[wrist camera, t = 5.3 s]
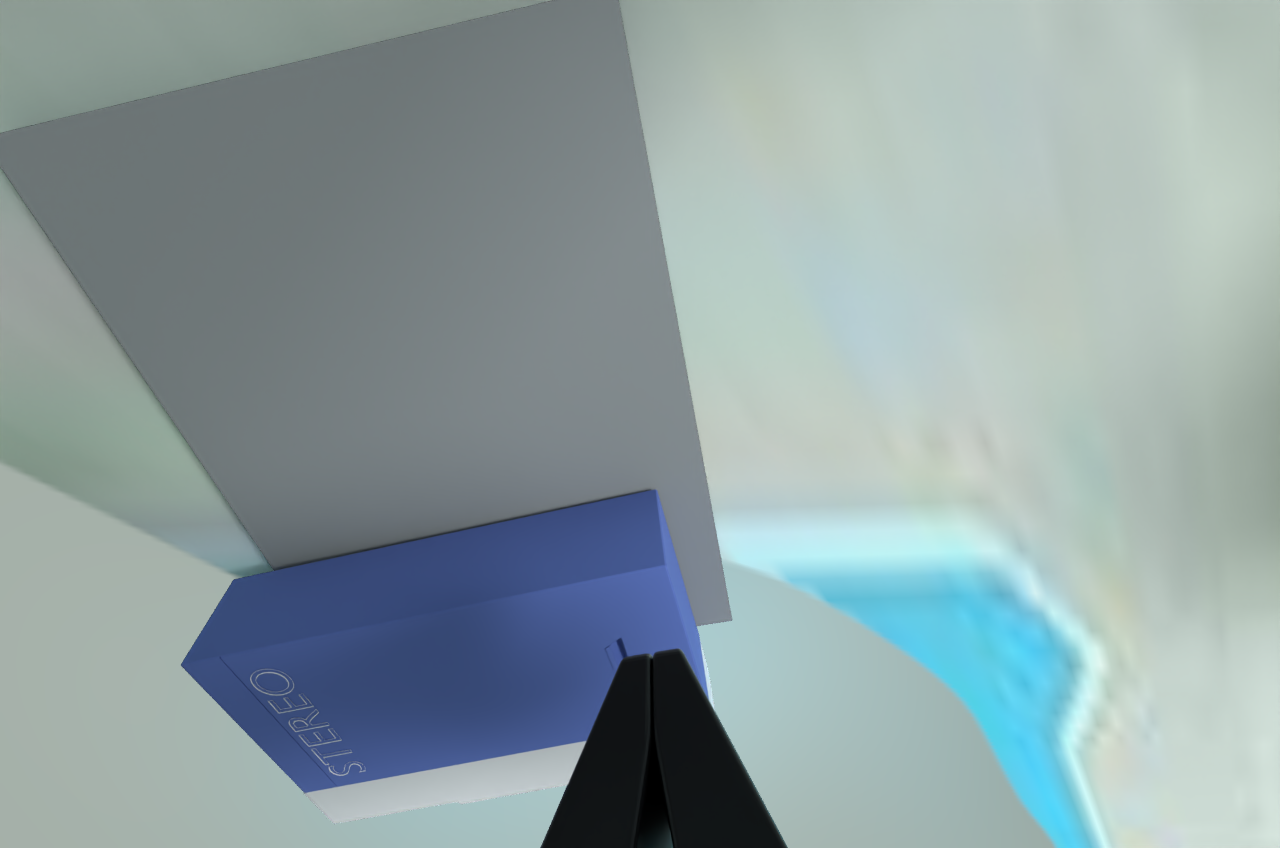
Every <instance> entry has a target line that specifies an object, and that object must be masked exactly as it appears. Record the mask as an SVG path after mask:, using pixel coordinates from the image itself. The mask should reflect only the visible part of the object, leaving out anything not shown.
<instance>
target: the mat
mask: <svg viewBox="0 0 1280 848" xmlns="http://www.w3.org/2000/svg"><path fill="white" fill-rule="evenodd" d="M0 167H1V168H2V170H3V171H4V173H5V174H6V176H7V177H8V179H9V180H10V182H11V183H12V185H13V186H14V188H15V189H16V191H17V192H18V194H19V195H20V197H21V198H22V199H23V201H24V202H25V204H26V205H27V207H28V208H29V210H30V211H31V213H32V214H33V216H34V217H35V219H36V220H37V222H38V223H39V225H40V226H41V228H42V229H43V230H44V232H45V233H46V235H47V236H48V238H49V239H50V241H51V242H52V244H53V245H54V247H55V248H56V250H57V251H58V253H59V254H60V256H61V257H62V259H63V260H64V261H65V263H66V264H67V266H68V267H69V269H70V270H71V272H72V273H73V275H74V276H75V278H76V279H77V281H78V282H79V284H80V285H81V287H82V288H83V289H84V291H85V292H86V294H87V295H88V297H89V298H90V300H91V301H92V303H93V304H94V306H95V307H96V309H97V310H98V312H99V313H100V315H101V316H102V318H103V319H104V320H105V322H106V323H107V325H108V326H109V328H110V329H111V331H112V332H113V334H114V335H115V337H116V338H117V340H118V341H119V343H120V344H121V346H122V347H123V349H124V350H125V351H126V353H127V354H128V356H129V357H130V359H131V360H132V362H133V363H134V365H135V366H136V368H137V369H138V371H139V372H140V374H141V375H142V377H143V378H144V379H145V381H146V382H147V384H148V385H149V387H150V388H151V390H152V391H153V393H154V394H155V396H156V397H157V399H158V400H159V402H160V403H161V405H162V406H163V408H164V409H165V410H166V412H167V413H168V415H169V416H170V418H171V419H172V421H173V422H174V424H175V425H176V427H177V428H178V430H179V431H180V433H181V434H182V436H183V437H184V439H185V440H186V441H187V443H188V444H189V446H190V447H191V449H192V450H193V452H194V453H195V455H196V456H197V458H198V459H199V461H200V462H201V464H202V465H203V467H204V468H205V470H206V471H207V472H208V474H209V475H210V477H211V478H212V480H213V481H214V483H215V484H216V486H217V487H218V489H219V490H220V492H221V493H222V495H223V496H224V498H225V499H226V500H227V502H228V503H229V505H230V506H231V508H232V509H233V511H234V512H235V514H236V515H237V517H238V518H239V520H240V521H241V523H242V524H243V526H244V527H245V529H246V530H247V531H248V533H249V534H250V536H251V537H252V539H253V540H254V542H255V543H256V545H257V546H258V548H259V549H260V551H261V552H262V554H263V555H264V557H265V558H266V560H267V561H268V562H269V564H270V565H271V567H272V568H273V570H274V571H276V570H281V569H285V568H290V567H295V566H299V565H304V564H309V563H313V562H318V561H323V560H327V559H332V558H337V557H341V556H346V555H351V554H355V553H360V552H365V551H369V550H374V549H379V548H383V547H388V546H393V545H397V544H402V543H407V542H411V541H416V540H421V539H425V538H430V537H435V536H439V535H444V534H449V533H453V532H458V531H463V530H468V529H472V528H477V527H482V526H486V525H491V524H496V523H500V522H505V521H510V520H514V519H519V518H524V517H528V516H533V515H538V514H542V513H547V512H552V511H556V510H561V509H566V508H570V507H575V506H580V505H584V504H589V503H594V502H598V501H603V500H608V499H612V498H617V497H622V496H626V495H631V494H636V493H640V492H645V491H650V490H654V489H656V490H657V491H658V495H659V498H660V502H661V505H662V509H663V512H664V515H665V519H666V522H667V526H668V529H669V533H670V536H671V540H672V543H673V547H674V550H675V554H676V557H677V561H678V564H679V568H680V571H681V574H682V578H683V581H684V585H685V588H686V592H687V595H688V599H689V602H690V606H691V609H692V613H693V616H694V620H695V623H696V626H701V625H707V624H713V623H720V622H726V621H732V616H731V611H730V605H729V600H728V595H727V590H726V583H725V578H724V572H723V567H722V561H721V556H720V550H719V545H718V540H717V534H716V529H715V523H714V518H713V512H712V507H711V501H710V496H709V490H708V485H707V480H706V474H705V469H704V463H703V458H702V452H701V447H700V441H699V436H698V430H697V425H696V420H695V414H694V409H693V403H692V398H691V392H690V387H689V381H688V376H687V370H686V365H685V360H684V354H683V349H682V343H681V338H680V332H679V327H678V321H677V316H676V310H675V305H674V300H673V294H672V289H671V283H670V278H669V272H668V267H667V261H666V256H665V250H664V245H663V240H662V234H661V229H660V223H659V218H658V212H657V207H656V201H655V196H654V190H653V185H652V180H651V174H650V169H649V163H648V158H647V152H646V147H645V141H644V136H643V130H642V125H641V120H640V114H639V109H638V103H637V98H636V92H635V87H634V81H633V76H632V70H631V65H630V60H629V54H628V49H627V43H626V38H625V32H624V27H623V21H622V16H621V10H620V5H619V0H552V1H548V2H544V3H540V4H535V5H531V6H527V7H523V8H519V9H515V10H510V11H506V12H502V13H498V14H494V15H490V16H485V17H481V18H477V19H473V20H469V21H465V22H460V23H456V24H452V25H448V26H444V27H440V28H435V29H431V30H427V31H423V32H419V33H415V34H410V35H406V36H402V37H398V38H394V39H390V40H385V41H381V42H377V43H373V44H369V45H365V46H360V47H356V48H352V49H348V50H344V51H340V52H335V53H331V54H327V55H323V56H319V57H315V58H311V59H306V60H302V61H298V62H294V63H290V64H286V65H281V66H277V67H273V68H269V69H265V70H261V71H256V72H252V73H248V74H244V75H240V76H236V77H231V78H227V79H223V80H219V81H215V82H211V83H206V84H202V85H198V86H194V87H190V88H186V89H181V90H177V91H173V92H169V93H165V94H161V95H156V96H152V97H148V98H144V99H140V100H136V101H131V102H127V103H123V104H119V105H115V106H111V107H106V108H102V109H98V110H94V111H90V112H86V113H81V114H77V115H73V116H69V117H65V118H61V119H56V120H52V121H48V122H44V123H40V124H36V125H31V126H27V127H23V128H19V129H15V130H11V131H6V132H2V133H0Z"/></svg>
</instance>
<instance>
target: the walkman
mask: <svg viewBox="0 0 1280 848" xmlns="http://www.w3.org/2000/svg"><path fill="white" fill-rule="evenodd" d="M676 648H679V649H681V650H682V651H683V652H684V654H685V656H686V658H687V660H688V662H689V664H690V665H691V667H692V669H693V671H694V673H695V675H696V677H697V679H698V680H699V682H700V684H701V686H702V688H703V690H704V692H705V694H706V695H707V697H708V699H709V701H710V703H711V705H712V707H713V709H714V710H715V707H714V701H713V695H712V689H711V683H710V676H709V671H708V667H707V664H706V660H705V656H704V653H703V649H702V646H701V642H700V638H699V633H698V630H697V626H696V623H695V620H694V616H693V613H692V609H691V606H690V602H689V599H688V595H687V592H686V588H685V585H684V581H683V578H682V574H681V571H680V568H679V564H678V561H677V557H676V554H675V550H674V547H673V543H672V540H671V536H670V533H669V529H668V526H667V522H666V519H665V515H664V512H663V509H662V505H661V502H660V498H659V495H658V491H657V490H656V489H654V490H650V491H645V492H640V493H636V494H631V495H626V496H622V497H617V498H612V499H608V500H603V501H598V502H594V503H589V504H584V505H580V506H575V507H570V508H566V509H561V510H556V511H552V512H547V513H542V514H538V515H533V516H528V517H524V518H519V519H514V520H510V521H505V522H500V523H496V524H491V525H486V526H482V527H477V528H472V529H468V530H463V531H458V532H453V533H449V534H444V535H439V536H435V537H430V538H425V539H421V540H416V541H411V542H407V543H402V544H397V545H393V546H388V547H383V548H379V549H374V550H369V551H365V552H360V553H355V554H351V555H346V556H341V557H337V558H332V559H327V560H323V561H318V562H313V563H309V564H304V565H299V566H295V567H290V568H285V569H281V570H276V571H271V572H266V573H262V574H257V575H252V576H248V577H243V578H238V579H234V580H233V581H232V583H231V585H230V586H229V588H228V589H227V591H226V593H225V594H224V596H223V597H222V599H221V601H220V602H219V604H218V606H217V607H216V609H215V611H214V612H213V614H212V615H211V617H210V618H209V620H208V622H207V623H206V625H205V627H204V628H203V630H202V631H201V633H200V635H199V636H198V638H197V639H196V641H195V643H194V644H193V646H192V648H191V649H190V651H189V652H188V654H187V656H186V657H185V659H184V660H183V662H182V664H181V666H182V667H183V668H184V669H185V670H186V671H187V672H188V673H189V674H190V675H191V676H192V677H193V678H194V679H195V680H196V682H198V684H199V685H200V686H201V687H203V689H204V690H205V691H206V692H207V693H208V694H209V695H210V696H211V697H212V698H213V699H214V700H215V701H216V702H217V703H218V704H219V705H220V706H221V707H222V708H223V709H224V710H225V711H226V712H227V713H228V714H229V716H231V718H232V719H233V720H234V721H235V722H236V723H237V724H238V725H239V726H240V727H241V728H242V729H243V730H244V731H245V732H246V733H247V734H248V735H249V736H250V737H251V738H252V739H253V740H254V741H255V742H256V743H257V744H258V745H259V746H260V747H261V748H262V749H263V751H264V752H265V753H266V754H267V755H268V756H269V757H270V758H271V759H272V760H273V761H274V762H275V763H276V764H277V765H278V766H279V767H280V768H281V769H282V770H283V771H284V772H285V773H286V774H287V775H288V776H289V777H290V778H291V779H292V780H293V781H294V782H295V783H296V784H297V786H298V787H299V788H301V790H302V791H303V792H304V794H305V795H306V796H307V797H308V798H309V799H310V800H311V801H312V802H313V803H314V804H315V805H316V806H317V807H318V808H319V809H320V810H321V811H322V812H323V813H324V815H325V816H327V818H328V819H329V820H330V821H331V822H332V823H333V824H337V823H343V822H348V821H354V820H359V819H365V818H370V817H376V816H381V815H387V814H393V813H398V812H404V811H409V810H414V809H420V808H426V807H431V806H437V805H442V804H448V803H453V802H458V803H460V804H465V803H471V802H476V801H482V800H487V799H493V798H498V797H504V796H509V795H515V794H520V793H526V792H531V791H537V790H543V789H548V788H553V787H559V786H565V785H568V783H569V780H570V778H571V776H572V773H573V771H574V769H575V766H576V764H577V762H578V759H579V757H580V755H581V752H582V750H583V748H584V745H585V743H586V741H587V738H588V736H589V734H590V731H591V729H592V727H593V724H594V722H595V720H596V718H597V715H598V713H599V711H600V708H601V706H602V704H603V701H604V699H605V697H606V694H607V692H608V690H609V687H610V685H611V683H612V680H613V678H614V676H615V673H616V671H617V669H618V666H619V664H620V662H621V661H622V659H623V658H625V657H627V656H633V655H639V654H645V653H648V654H651V655H652V657H653V654H654V653H655V652H657V651H663V650H670V649H676Z"/></svg>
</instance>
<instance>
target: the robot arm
mask: <svg viewBox="0 0 1280 848" xmlns="http://www.w3.org/2000/svg"><path fill="white" fill-rule="evenodd" d="M541 848H788V847H787V845H786V844H785V842H784V840H783V838H782V836H781V834H780V832H779V830H778V829H777V827H776V825H775V823H774V821H773V819H772V817H771V815H770V813H769V812H768V810H767V808H766V806H765V804H764V802H763V801H762V798H761V797H760V795H759V793H758V791H757V789H756V787H755V785H754V783H753V782H752V780H751V778H750V776H749V774H748V773H747V770H746V769H745V767H744V765H743V763H742V761H741V759H740V757H739V755H738V754H737V752H736V750H735V748H734V746H733V744H732V742H731V741H730V739H729V737H728V735H727V733H726V731H725V729H724V727H723V726H722V724H721V722H720V720H719V718H718V716H717V715H716V712H715V710H714V709H713V707H712V705H711V703H710V701H709V699H708V697H707V695H706V694H705V692H704V690H703V688H702V686H701V684H700V682H699V680H698V679H697V677H696V675H695V673H694V671H693V669H692V667H691V665H690V664H689V662H688V660H687V658H686V656H685V654H684V652H683V651H682V650H681V649H679V648H676V649H670V650H663V651H657V652H655V653H654V654H653V657H652V655H651V654H648V653H645V654H639V655H633V656H627V657H625V658H623V659H622V661H621V662H620V664H619V666H618V669H617V671H616V673H615V676H614V678H613V680H612V683H611V685H610V687H609V690H608V692H607V694H606V697H605V699H604V701H603V704H602V706H601V708H600V711H599V713H598V715H597V718H596V720H595V722H594V724H593V727H592V729H591V731H590V734H589V736H588V738H587V741H586V743H585V745H584V748H583V750H582V752H581V755H580V757H579V759H578V762H577V764H576V766H575V769H574V771H573V773H572V776H571V778H570V780H569V783H568V785H567V787H566V790H565V792H564V794H563V797H562V799H561V801H560V804H559V806H558V808H557V811H556V813H555V815H554V818H553V820H552V822H551V825H550V827H549V830H548V832H547V834H546V836H545V839H544V841H543V843H542V845H541Z"/></svg>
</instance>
